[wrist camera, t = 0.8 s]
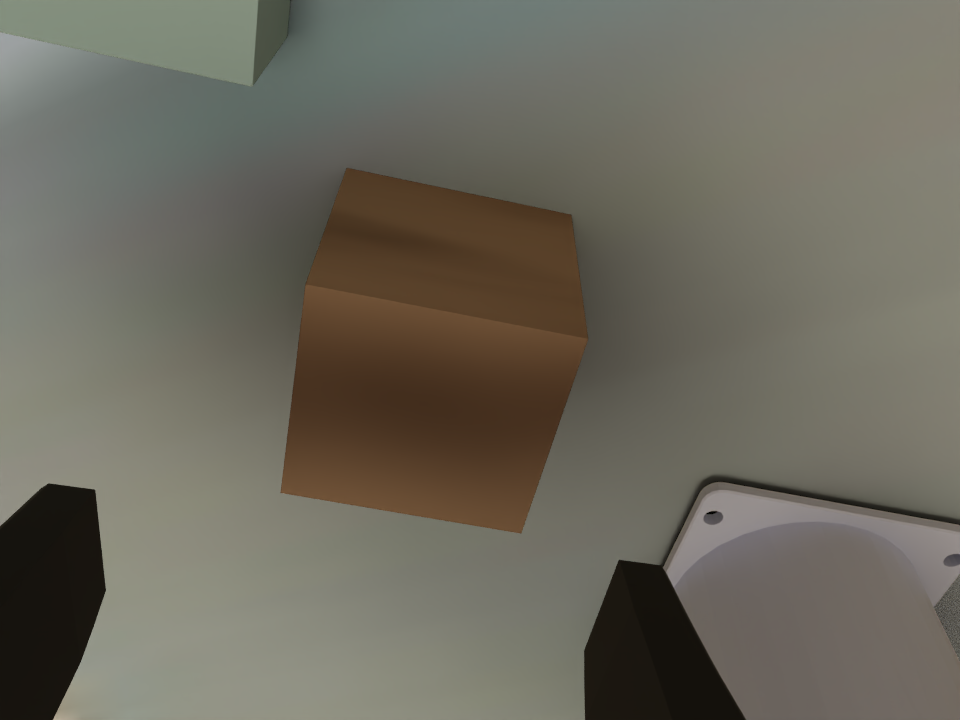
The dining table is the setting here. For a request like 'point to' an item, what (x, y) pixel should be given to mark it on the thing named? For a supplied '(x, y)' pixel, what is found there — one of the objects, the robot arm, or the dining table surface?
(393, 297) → the walnut block
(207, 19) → the sage green base
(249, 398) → the dining table surface
